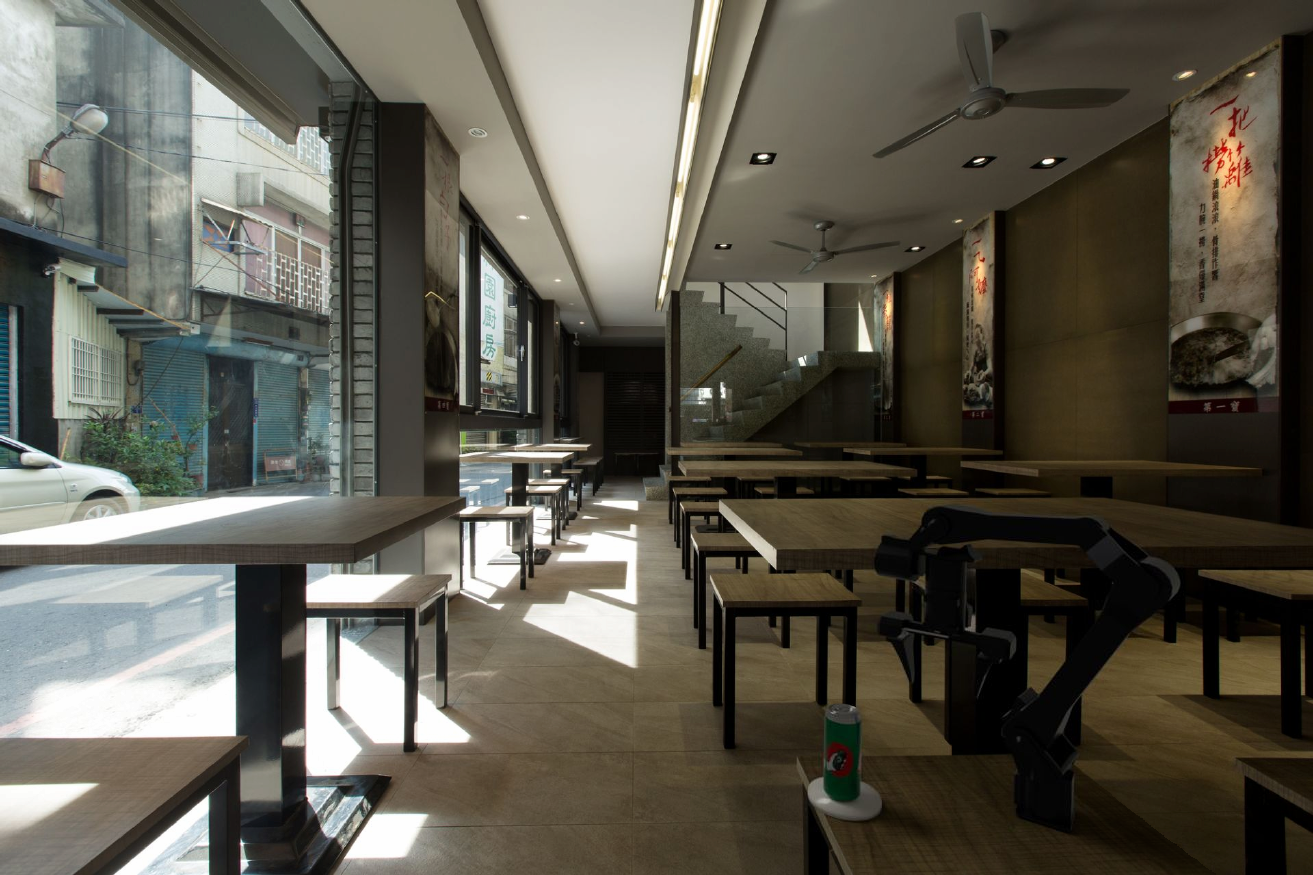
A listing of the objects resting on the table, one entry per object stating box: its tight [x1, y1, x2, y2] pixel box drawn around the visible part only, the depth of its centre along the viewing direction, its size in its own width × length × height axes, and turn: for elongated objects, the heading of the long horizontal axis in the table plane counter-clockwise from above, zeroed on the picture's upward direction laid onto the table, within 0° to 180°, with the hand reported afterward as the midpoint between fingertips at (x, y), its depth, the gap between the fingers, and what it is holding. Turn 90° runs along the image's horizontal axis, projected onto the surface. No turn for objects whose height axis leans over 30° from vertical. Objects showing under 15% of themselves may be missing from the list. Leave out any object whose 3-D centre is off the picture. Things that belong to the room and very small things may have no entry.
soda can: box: [822, 703, 863, 802], centre depth 93 cm, size 5×5×12 cm
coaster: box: [807, 776, 883, 822], centre depth 93 cm, size 10×10×1 cm
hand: (942, 689), depth 101 cm, fingers open, 9 cm apart
